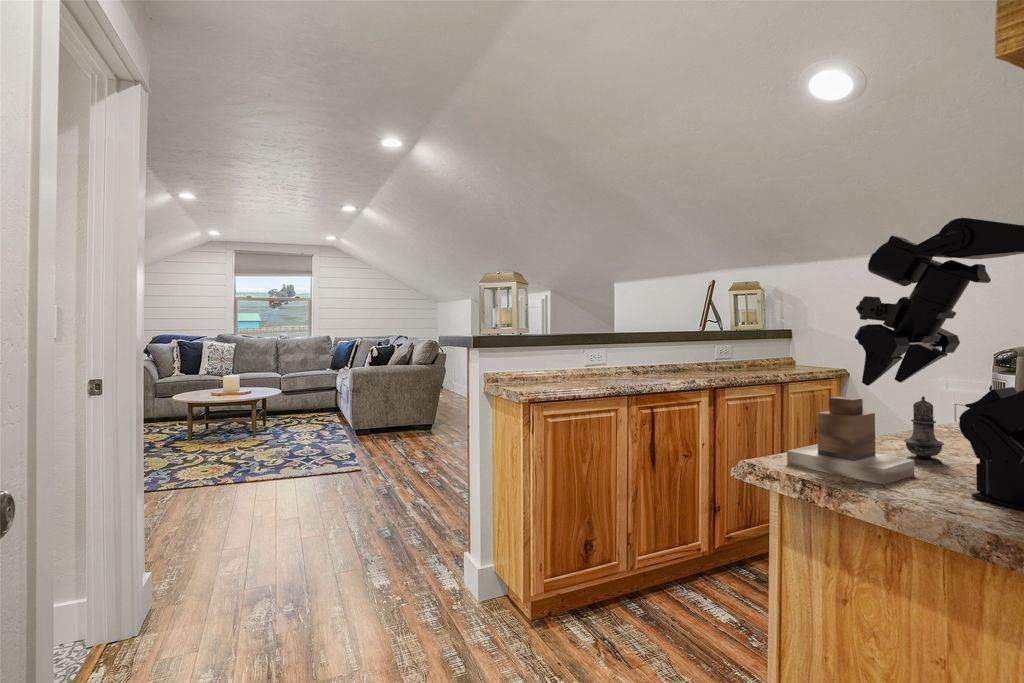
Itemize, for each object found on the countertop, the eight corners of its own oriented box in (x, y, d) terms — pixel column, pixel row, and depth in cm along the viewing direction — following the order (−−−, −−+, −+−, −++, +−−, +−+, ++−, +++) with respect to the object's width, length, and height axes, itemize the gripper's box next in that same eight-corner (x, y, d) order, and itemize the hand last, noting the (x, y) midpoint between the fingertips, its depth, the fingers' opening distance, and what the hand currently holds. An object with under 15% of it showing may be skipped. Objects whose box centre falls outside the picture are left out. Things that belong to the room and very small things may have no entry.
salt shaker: (945, 466, 93) (944, 398, 93) (903, 462, 96) (903, 397, 96) (943, 459, 97) (942, 395, 97) (904, 455, 101) (903, 393, 101)
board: (914, 474, 88) (914, 459, 88) (884, 484, 83) (884, 468, 83) (818, 456, 102) (817, 443, 102) (787, 464, 97) (787, 450, 97)
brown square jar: (875, 455, 92) (874, 398, 91) (854, 461, 88) (853, 401, 88) (839, 449, 97) (838, 395, 97) (818, 454, 93) (817, 398, 93)
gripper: (915, 279, 92) (871, 356, 99) (849, 276, 84) (805, 360, 91) (985, 307, 83) (931, 389, 90) (918, 307, 75) (864, 397, 82)
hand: (881, 382), depth 89 cm, fingers open, 9 cm apart
